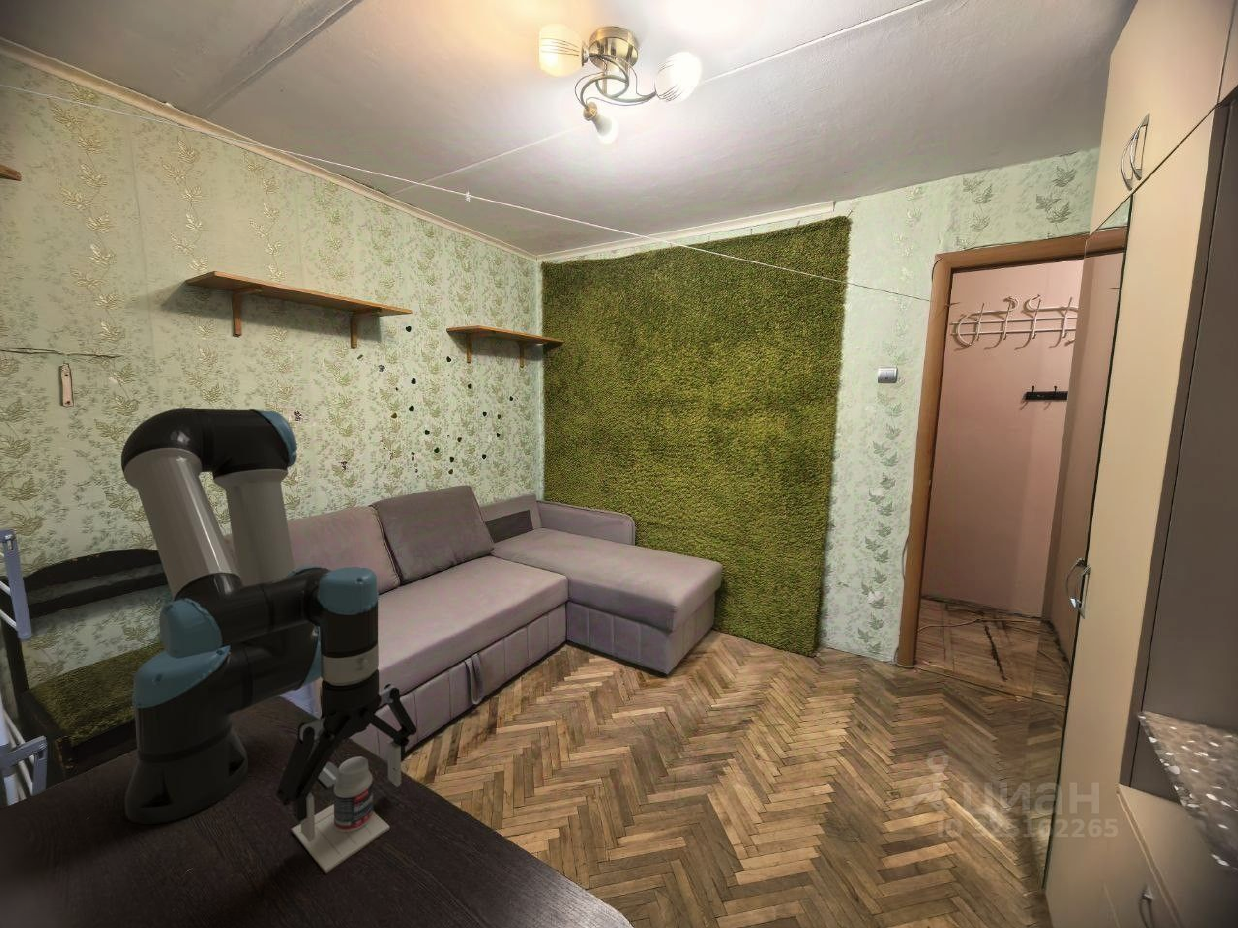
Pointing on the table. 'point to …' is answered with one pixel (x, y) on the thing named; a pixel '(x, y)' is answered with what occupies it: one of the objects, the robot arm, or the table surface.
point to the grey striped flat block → (329, 775)
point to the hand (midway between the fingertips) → (354, 806)
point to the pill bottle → (353, 795)
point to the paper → (338, 838)
